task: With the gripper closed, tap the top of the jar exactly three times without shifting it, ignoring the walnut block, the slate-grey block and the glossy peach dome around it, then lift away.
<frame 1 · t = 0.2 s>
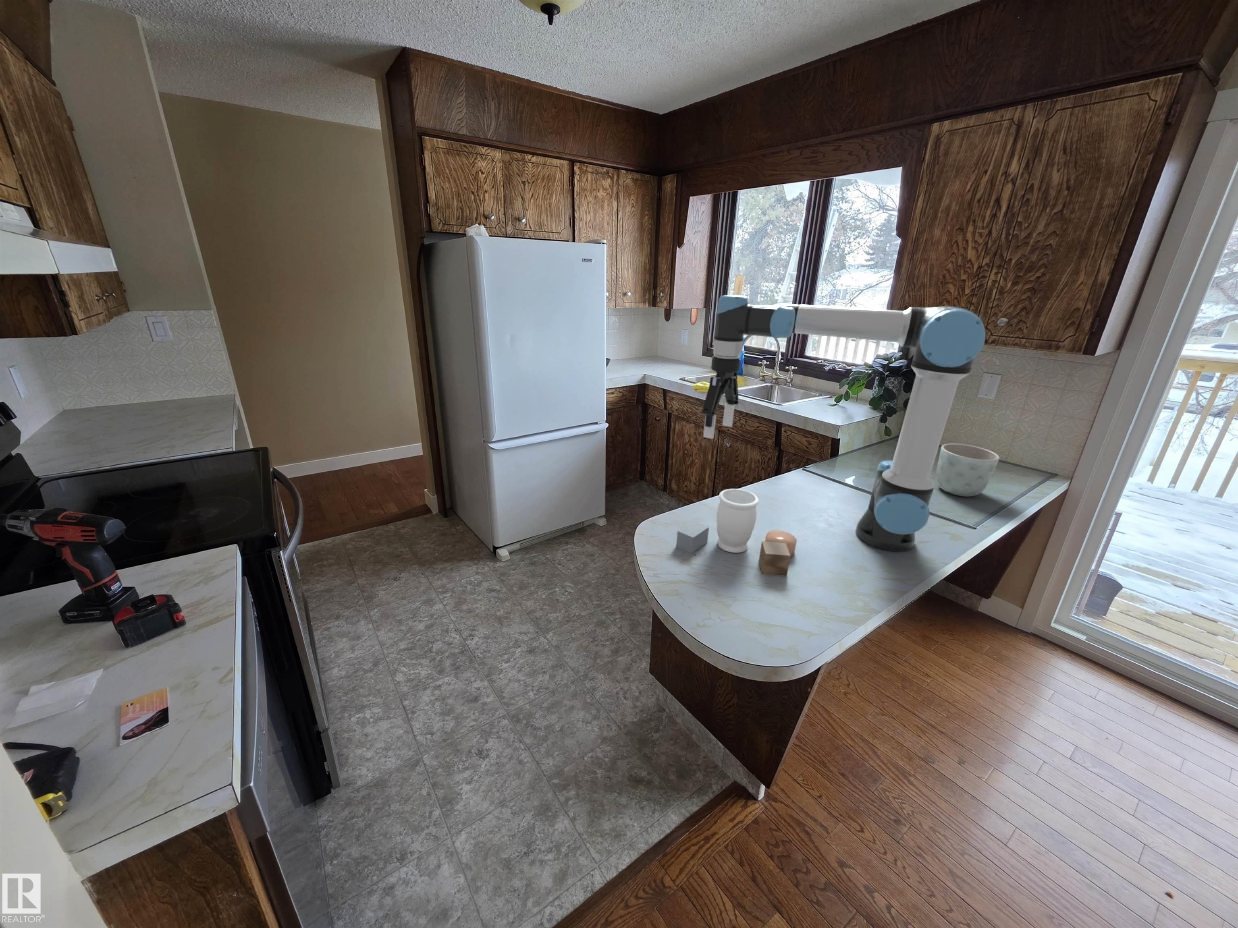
hand: (718, 431, 142), 28 cm above the worktop, fingers open, 13 cm apart
jar: (732, 545, 138), on the worktop
planter: (957, 491, 178), on the worktop
glossy peach dome: (778, 550, 137), on the worktop
slate block: (691, 544, 138), on the worktop
walnut block: (772, 568, 128), on the worktop
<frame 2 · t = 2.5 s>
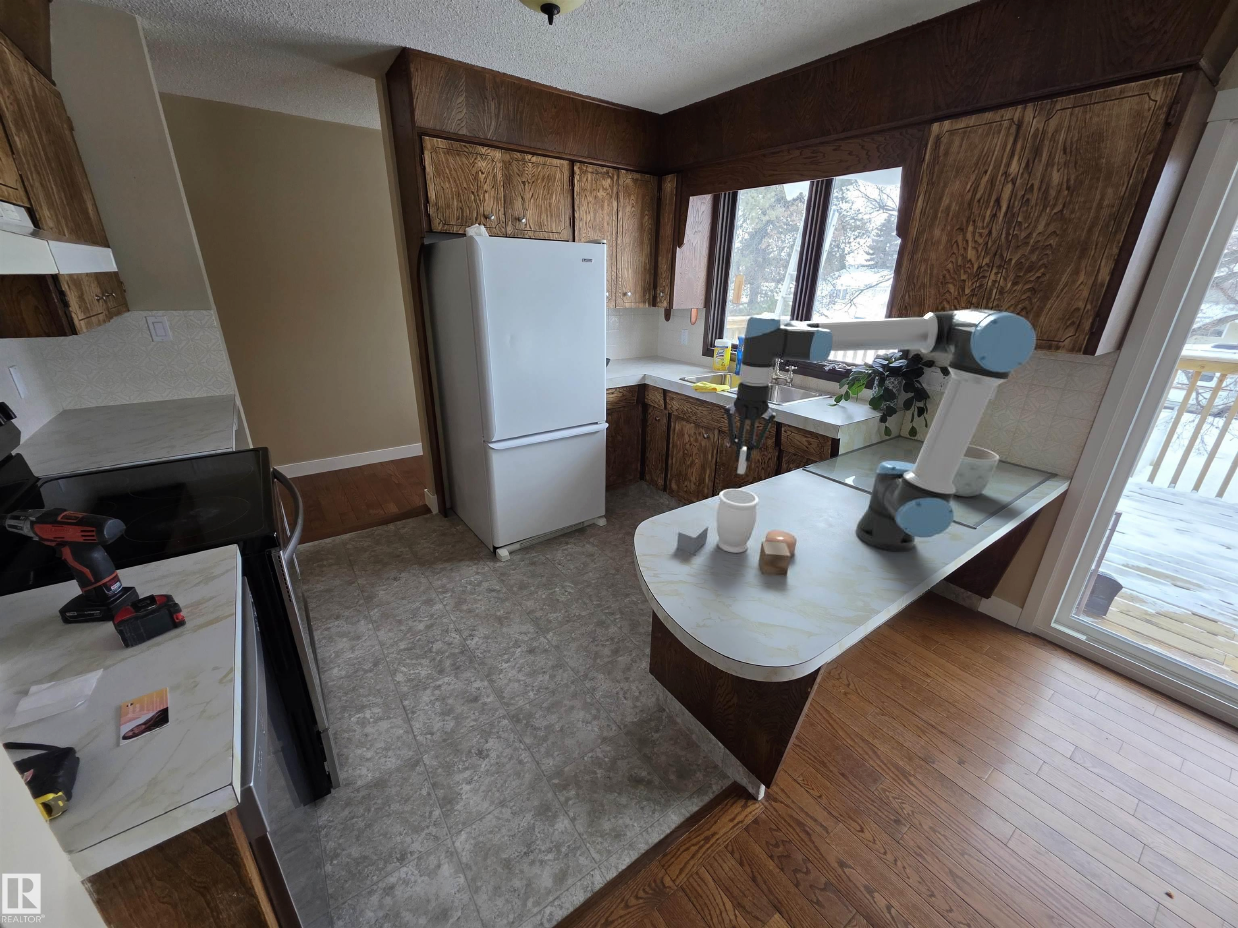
hand: (741, 471, 130), 22 cm above the worktop, fingers closed
nothing on the worktop moved.
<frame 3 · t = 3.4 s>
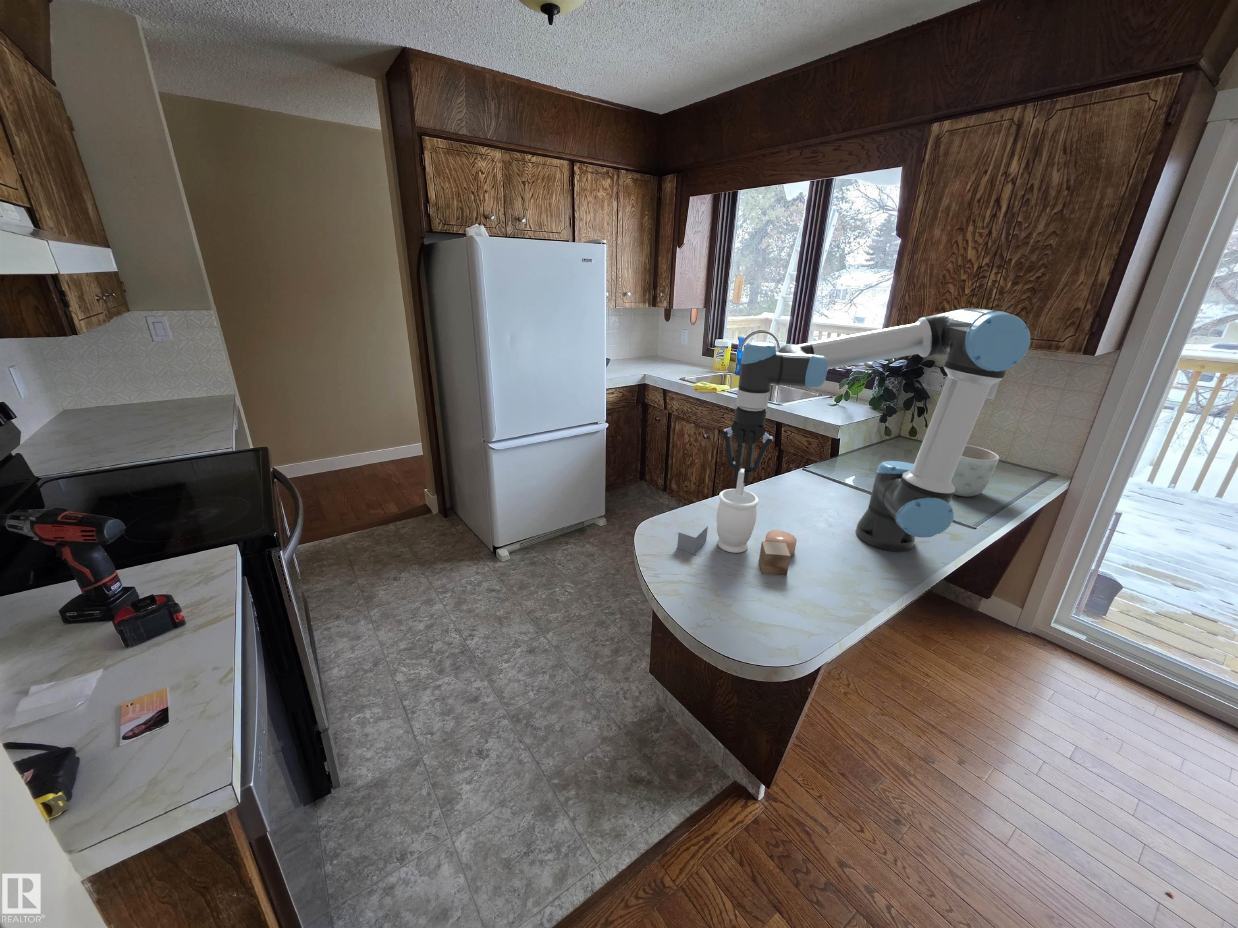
hand: (739, 493, 132), 16 cm above the worktop, fingers closed
nothing on the worktop moved.
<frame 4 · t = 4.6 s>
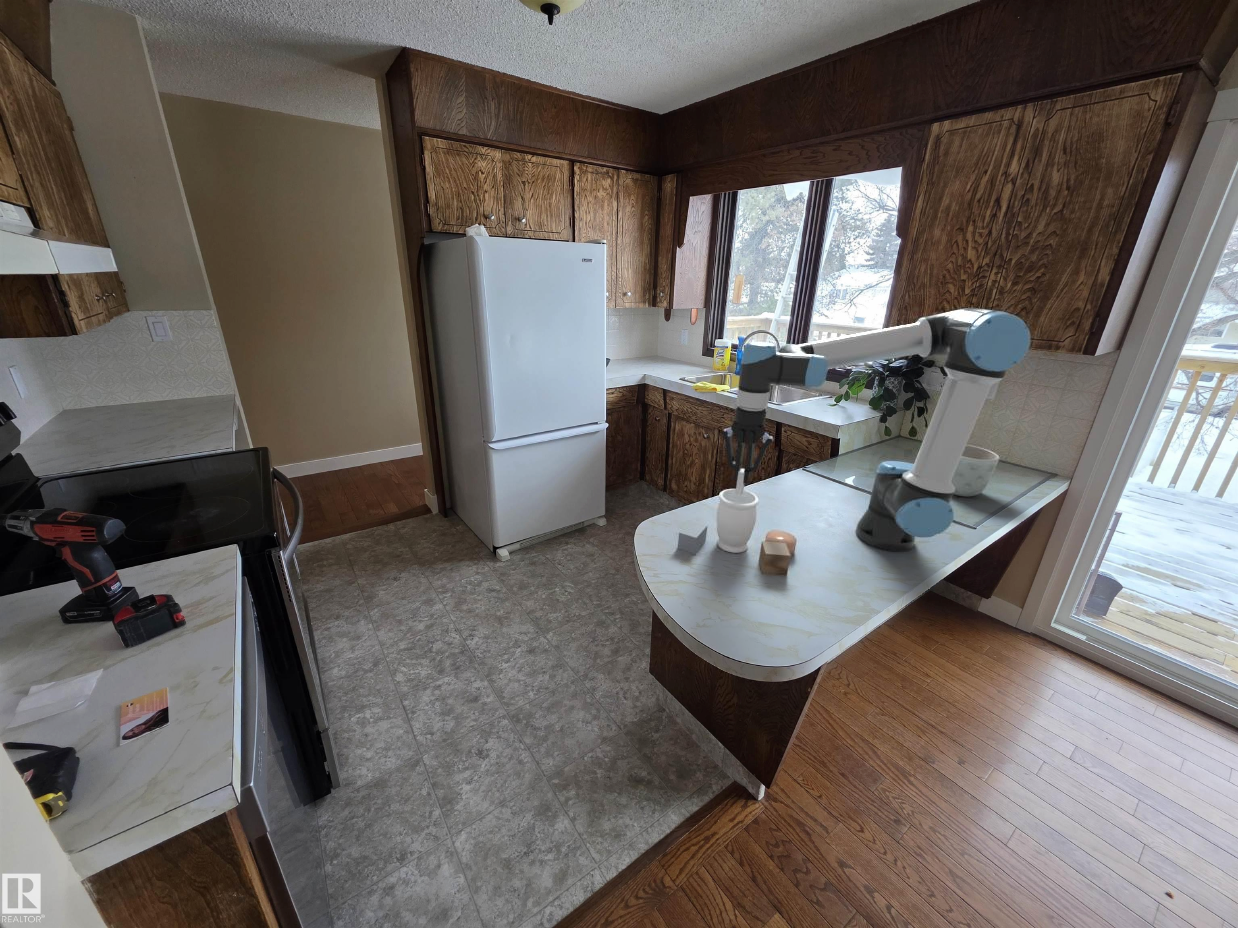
hand: (739, 493, 132), 16 cm above the worktop, fingers closed
nothing on the worktop moved.
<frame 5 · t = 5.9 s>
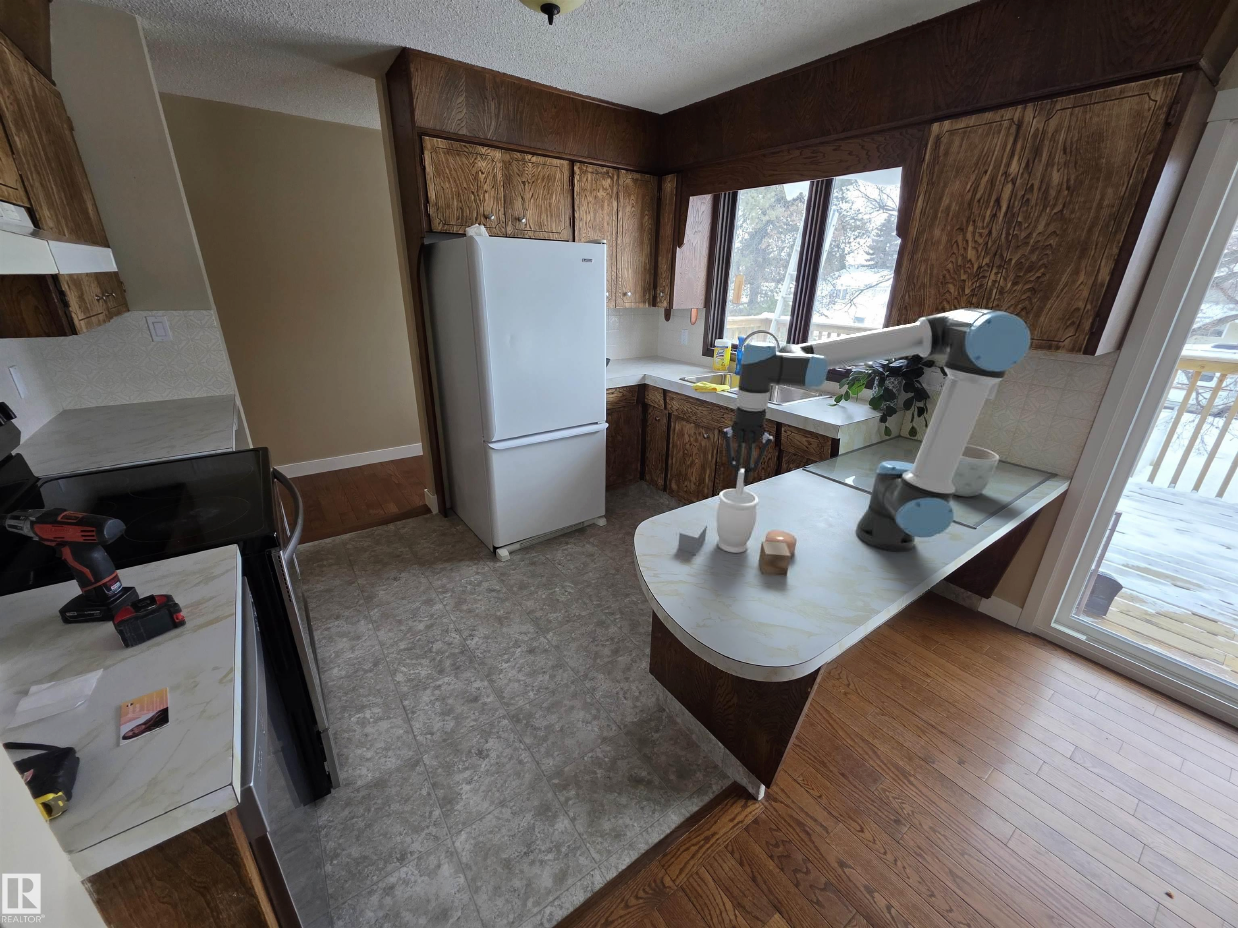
hand: (739, 493, 132), 16 cm above the worktop, fingers closed
nothing on the worktop moved.
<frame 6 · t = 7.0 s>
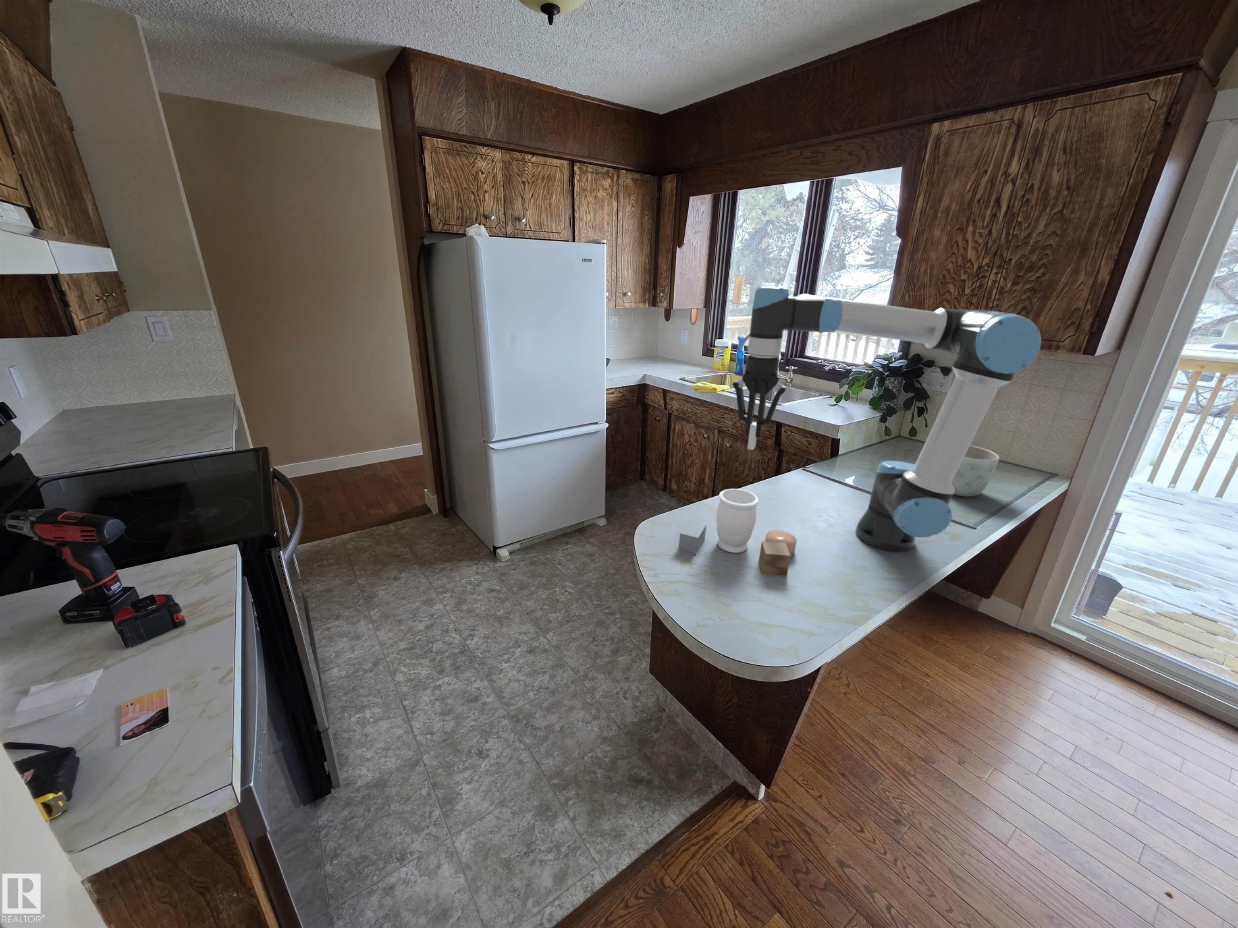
hand: (751, 447, 128), 28 cm above the worktop, fingers closed
nothing on the worktop moved.
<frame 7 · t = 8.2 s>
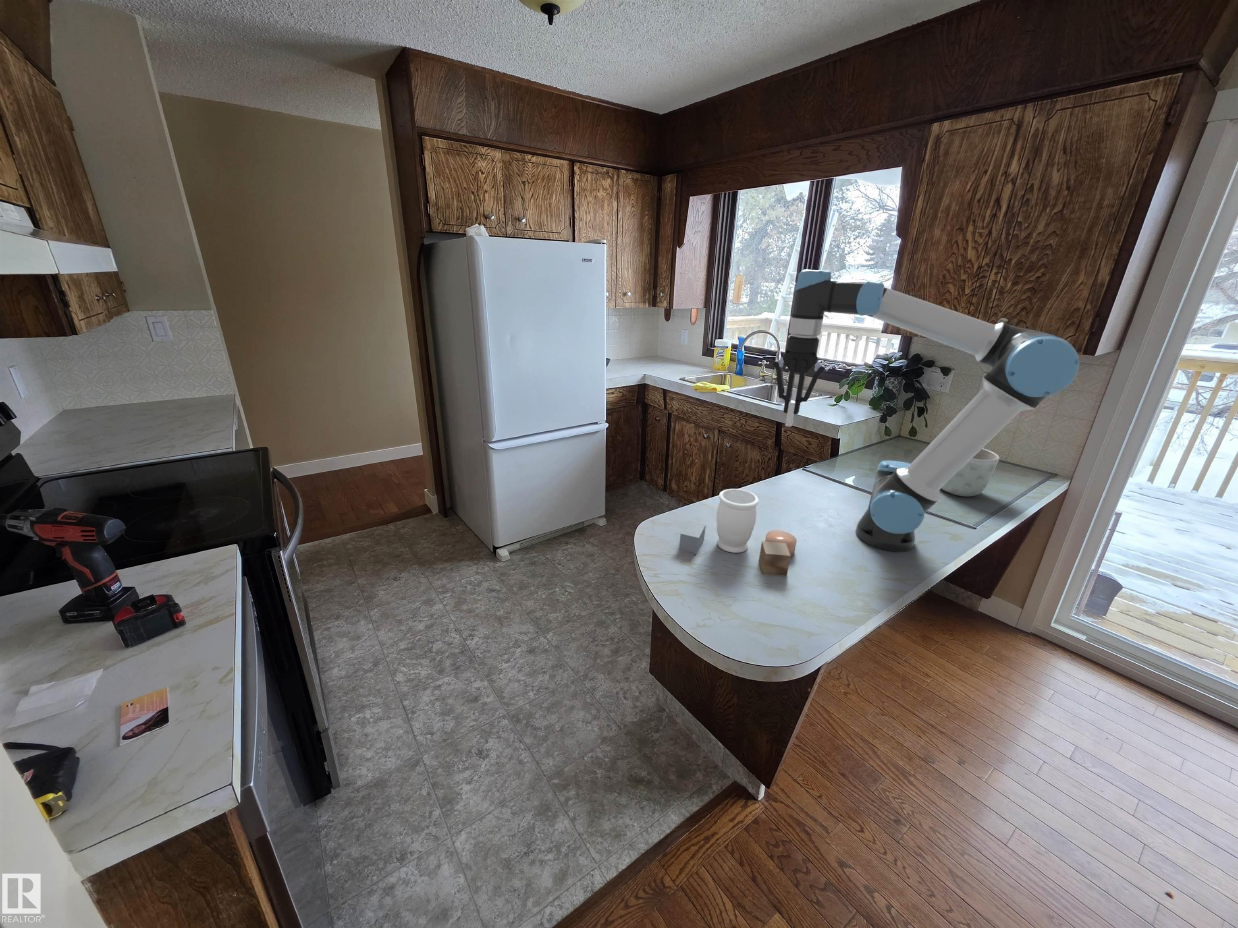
hand: (788, 425, 134), 32 cm above the worktop, fingers closed
nothing on the worktop moved.
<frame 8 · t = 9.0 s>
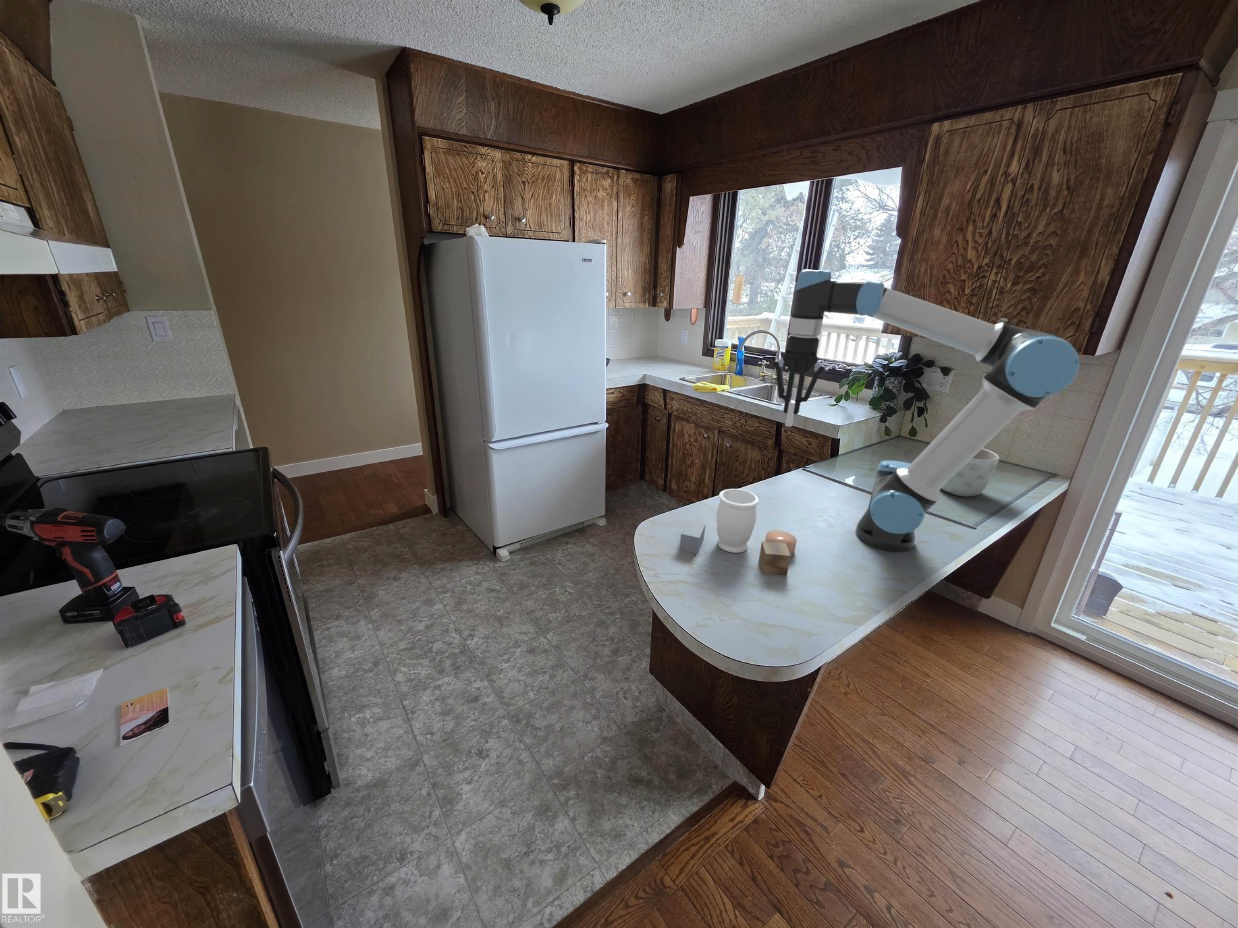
hand: (788, 425, 134), 32 cm above the worktop, fingers closed
nothing on the worktop moved.
at the end: jar moved 0.2 cm from its start; jar tilted 0°; walnut block moved 0.1 cm from its start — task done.
